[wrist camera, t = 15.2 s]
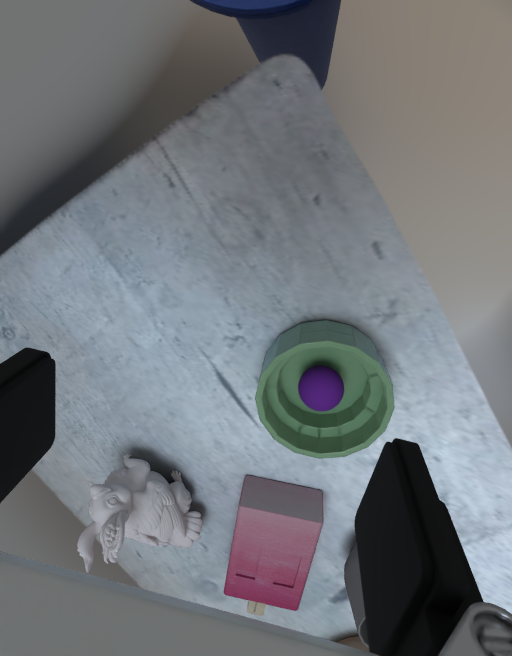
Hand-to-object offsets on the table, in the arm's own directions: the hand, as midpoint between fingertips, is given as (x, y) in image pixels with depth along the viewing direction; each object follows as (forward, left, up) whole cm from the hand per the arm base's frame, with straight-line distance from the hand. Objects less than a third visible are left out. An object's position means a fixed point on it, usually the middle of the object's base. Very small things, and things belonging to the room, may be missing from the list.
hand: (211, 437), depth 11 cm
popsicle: (+37, +7, -28) cm, 47 cm away
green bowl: (+12, +7, -28) cm, 32 cm away
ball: (+12, +7, -26) cm, 29 cm away
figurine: (+32, -8, -28) cm, 44 cm away
